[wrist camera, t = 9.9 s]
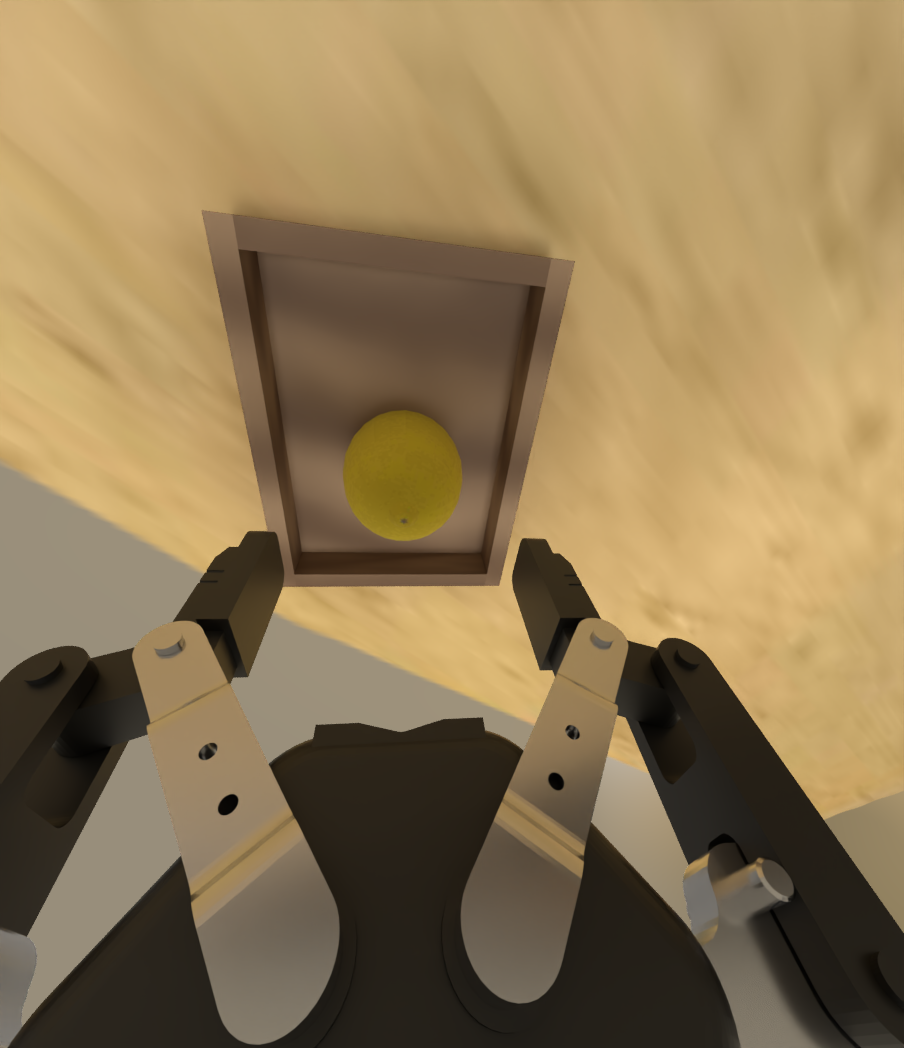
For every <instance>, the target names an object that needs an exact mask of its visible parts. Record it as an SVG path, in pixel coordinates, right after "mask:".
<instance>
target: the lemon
mask: <svg viewBox="0 0 904 1048" xmlns="http://www.w3.org/2000/svg"><path fill="white" fill-rule="evenodd" d="M343 481H344V489H345V494H346V498H347V500H348V503H349V505H350V507H351V509H352V511H353V513H354V515H355V516H356V517H357V518H358V519H359V521H360V522H361V523H362V524H363V525H364V526H365V527H367V528H368V529H369V530H371V531H372V532H373V533H375V534H377V535H379V536H382V537H384V538H387V539H392V540H396V541H410V540H416V539H420V538H423V537H425V536H428V535H430V534H432V533H433V532H434V531H436V530H437V529H439V528H440V527H442V526H443V525H444V523H445V522H446V521H447V520H448V519H449V518H450V516H451V515H452V513H453V511H454V509H455V507H456V505H457V503H458V500H459V496H460V491H461V486H462V466H461V459H460V456H459V454H458V451H457V449H456V446H455V443H454V442H453V440H452V439H451V437H450V436H449V435H448V433H447V432H446V431H445V429H444V428H443V427H441V426H440V425H439V424H438V423H437V422H435V421H434V420H433V419H431V418H429V417H427V416H425V415H423V414H420V413H418V412H412V411H407V410H399V411H390V412H387V413H384V414H380V415H378V416H376V417H374V418H373V419H371V420H370V421H368V422H367V423H365V424H364V425H363V426H362V428H361V429H360V430H359V431H358V432H357V433H356V434H355V435H354V437H353V439H352V441H351V443H350V445H349V447H348V449H347V451H346V454H345V460H344V467H343Z"/></svg>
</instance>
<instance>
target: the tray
mask: <svg viewBox="0 0 904 1048" xmlns="http://www.w3.org/2000/svg"><path fill="white" fill-rule="evenodd" d="M202 215H203V219H204V224H205V229H206V234H207V239H208V244H209V248H210V253H211V258H212V263H213V268H214V273H215V278H216V282H217V287H218V292H219V297H220V302H221V307H222V311H223V316H224V321H225V326H226V331H227V336H228V341H229V345H230V350H231V355H232V360H233V365H234V370H235V374H236V379H237V384H238V389H239V394H240V399H241V404H242V408H243V413H244V418H245V423H246V428H247V433H248V437H249V442H250V447H251V452H252V457H253V462H254V467H255V471H256V476H257V481H258V486H259V491H260V496H261V500H262V505H263V510H264V515H265V520H266V525H267V529H268V532H276V534H277V536H278V541H279V546H280V551H281V556H282V561H283V566H284V583H283V587H328V586H499V584H500V579H501V575H502V571H503V567H504V562H505V558H506V554H507V550H508V545H509V541H510V537H511V532H512V528H513V524H514V520H515V515H516V511H517V507H518V502H519V498H520V494H521V490H522V485H523V481H524V477H525V472H526V468H527V464H528V460H529V455H530V451H531V447H532V442H533V438H534V434H535V430H536V425H537V421H538V417H539V412H540V408H541V404H542V400H543V395H544V391H545V387H546V382H547V378H548V374H549V370H550V365H551V361H552V357H553V352H554V348H555V344H556V340H557V335H558V331H559V327H560V322H561V318H562V314H563V310H564V305H565V301H566V297H567V292H568V288H569V284H570V280H571V275H572V271H573V267H574V263H575V261H569V260H561V259H554V258H547V257H539V256H532V255H525V254H517V253H510V252H503V251H496V250H488V249H481V248H474V247H466V246H459V245H452V244H444V243H437V242H430V241H422V240H415V239H408V238H401V237H393V236H386V235H379V234H371V233H364V232H357V231H349V230H342V229H335V228H327V227H320V226H313V225H306V224H298V223H291V222H284V221H276V220H269V219H262V218H254V217H247V216H240V215H232V214H225V213H218V212H210V211H203V210H202ZM399 410H407V411H412V412H418V413H420V414H423V415H425V416H427V417H429V418H431V419H433V420H434V421H435V422H437V423H438V424H439V425H440V426H441V427H443V428H444V429H445V431H446V432H447V433H448V435H449V436H450V437H451V439H452V440H453V442H454V443H455V446H456V449H457V451H458V454H459V456H460V459H461V466H462V486H461V491H460V496H459V500H458V503H457V505H456V507H455V509H454V511H453V513H452V515H451V516H450V518H449V519H448V520H447V521H446V522H445V523H444V525H443V526H442V527H440V528H439V529H437V530H436V531H434V532H433V533H432V534H430V535H428V536H425V537H423V538H420V539H416V540H410V541H396V540H392V539H387V538H384V537H382V536H379V535H377V534H375V533H373V532H372V531H371V530H369V529H368V528H367V527H365V526H364V525H363V524H362V523H361V522H360V521H359V519H358V518H357V517H356V516H355V515H354V513H353V511H352V509H351V507H350V505H349V503H348V500H347V498H346V494H345V489H344V481H343V467H344V460H345V454H346V451H347V449H348V447H349V445H350V443H351V441H352V439H353V437H354V435H355V434H356V433H357V432H358V431H359V430H360V429H361V428H362V426H363V425H364V424H365V423H367V422H368V421H370V420H371V419H373V418H374V417H376V416H378V415H380V414H384V413H387V412H390V411H399Z"/></svg>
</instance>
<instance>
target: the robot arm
mask: <svg viewBox="0 0 904 1048" xmlns="http://www.w3.org/2000/svg"><path fill="white" fill-rule="evenodd" d="M283 583H284V566H283V561H282V556H281V551H280V546H279V541H278V536H277V534H276V532H266V531H249V532H247V534H246V535H245V537H244V538H243V540H242V542H241V543H240V545H239V547H229V548H227V549H226V550H225V551H223V552H222V553H221V554H219V555H218V556H216V557H215V558H214V560H213V561H212V563H211V564H210V566H209V568H208V569H207V573H205V574H204V575H203V577H202V578H201V580H200V583H198V584H197V586H196V587H195V589H194V590H193V592H192V593H191V595H190V596H189V598H188V599H187V601H186V603H185V604H184V606H183V607H182V609H181V610H180V612H179V613H178V615H177V616H176V618H175V619H174V621H173V622H171V623H168V624H165V625H162V626H160V627H158V628H156V629H154V630H152V631H151V632H149V633H148V634H146V635H145V636H144V637H143V638H142V639H141V640H140V641H139V642H138V643H137V645H136V646H135V647H134V648H131V649H127V650H123V651H120V652H115V653H111V654H107V655H103V656H99V657H95V658H90V657H89V655H88V654H87V652H86V651H85V650H84V649H82V648H80V647H76V646H63V647H57V648H53V649H49V650H46V651H43V652H41V653H38V654H36V655H34V656H32V657H30V658H28V659H27V660H25V661H23V662H22V663H20V664H19V665H17V666H16V667H15V668H14V669H12V670H11V671H10V672H9V673H8V674H7V675H6V676H5V677H4V678H3V680H1V682H0V1048H904V933H903V932H902V930H901V929H900V928H899V926H898V925H897V923H896V922H895V920H894V919H893V917H892V916H891V915H890V913H889V912H888V910H887V909H886V908H885V906H884V905H883V903H882V902H881V901H880V899H879V898H878V896H877V895H876V893H875V892H874V891H873V889H872V888H871V886H870V885H869V883H868V882H867V881H866V879H865V878H864V876H863V875H862V874H861V872H860V871H859V869H858V868H857V866H856V865H855V864H854V862H853V861H852V859H851V858H850V857H849V855H848V854H847V852H846V851H845V849H844V848H843V847H842V845H841V844H840V842H839V841H838V840H837V838H836V837H835V835H834V834H833V832H832V831H831V830H830V828H829V827H828V825H827V824H826V823H825V821H824V820H823V818H822V817H821V815H820V814H819V813H818V811H817V810H816V808H815V807H814V806H813V804H812V803H811V801H810V800H809V798H808V797H807V796H806V794H805V793H804V791H803V790H802V789H801V787H800V786H799V784H798V783H797V781H796V780H795V779H794V777H793V776H792V774H791V773H790V772H789V770H788V769H787V767H786V766H785V764H784V763H783V762H782V760H781V759H780V757H779V756H778V755H777V753H776V752H775V750H774V749H773V747H772V746H771V745H770V743H769V742H768V740H767V739H766V738H765V736H764V735H763V733H762V732H761V730H760V729H759V728H758V726H757V725H756V723H755V722H754V721H753V719H752V718H751V716H750V715H749V714H748V712H747V711H746V709H745V708H744V706H743V705H742V704H741V702H740V701H739V699H738V698H737V697H736V695H735V694H734V692H733V691H732V689H731V688H730V687H729V685H728V684H727V682H726V681H725V680H724V678H723V677H722V675H721V674H720V672H719V671H718V670H717V668H716V667H715V665H714V664H713V663H712V661H711V660H710V658H709V657H708V656H707V655H706V654H705V653H704V652H703V651H702V650H701V649H699V648H698V647H696V646H695V645H693V644H691V643H689V642H687V641H685V640H682V639H678V638H667V639H664V640H663V641H661V643H660V644H659V646H658V647H657V648H654V647H650V646H646V645H642V644H638V643H635V642H631V641H628V640H627V639H626V637H625V635H624V634H623V633H622V632H621V631H620V630H619V629H618V628H617V627H616V626H614V625H613V624H611V623H609V622H608V621H605V620H602V619H601V618H600V616H599V614H598V612H597V611H596V609H595V607H594V605H593V603H592V601H591V600H590V598H589V596H588V594H587V592H586V591H585V589H584V587H583V586H582V583H581V581H580V580H579V578H578V577H577V574H576V572H575V571H574V569H573V567H572V565H571V563H569V562H568V561H567V560H566V559H565V558H564V557H563V556H562V555H561V554H554V553H553V552H552V550H551V548H550V547H549V545H548V543H547V541H546V540H545V539H530V538H523V539H522V540H521V543H520V546H519V550H518V554H517V558H516V562H515V566H514V570H513V575H512V584H513V590H514V593H515V596H516V599H517V602H518V605H519V608H520V611H521V614H522V617H523V620H524V623H525V626H526V629H527V632H528V635H529V638H530V641H531V644H532V647H533V650H534V653H535V657H536V660H537V663H538V666H539V669H540V670H553V673H554V675H555V679H554V682H553V684H552V686H551V689H550V691H549V693H548V696H547V698H546V700H545V703H544V705H543V707H542V709H541V712H540V714H539V716H538V719H537V721H536V723H535V726H534V728H533V731H532V733H531V735H530V738H529V740H528V742H527V744H526V747H525V749H524V751H523V750H522V749H521V748H520V747H519V746H517V745H516V744H514V743H513V742H511V741H510V740H508V739H506V738H504V737H502V736H500V735H498V734H495V733H492V732H489V731H485V728H484V722H483V718H462V719H443V720H440V721H437V722H434V723H431V724H427V725H424V726H421V727H418V728H415V729H412V730H409V731H405V732H397V731H392V730H388V729H383V728H379V727H374V726H370V725H365V724H361V723H349V724H327V725H316V727H315V733H314V737H313V739H311V740H308V741H305V742H303V743H301V744H298V745H296V746H294V747H292V748H291V749H289V750H287V751H285V752H284V753H282V754H281V755H280V756H278V757H277V758H275V759H274V760H273V761H272V762H270V763H269V764H268V762H267V760H266V758H265V756H264V754H263V751H262V749H261V747H260V745H259V743H258V741H257V739H256V737H255V735H254V733H253V731H252V729H251V726H250V724H249V722H248V720H247V718H246V716H245V714H244V712H243V710H242V708H241V706H240V704H239V701H238V699H237V697H236V695H235V693H234V691H233V689H232V687H231V685H230V683H231V681H232V679H233V678H234V677H248V676H249V673H250V670H251V668H252V665H253V663H254V660H255V658H256V655H257V652H258V650H259V647H260V645H261V642H262V639H263V637H264V634H265V632H266V629H267V626H268V623H269V621H270V619H271V616H272V613H273V611H274V608H275V606H276V603H277V601H278V598H279V595H280V593H281V590H282V587H283ZM617 715H619V716H622V717H626V719H627V721H628V724H629V726H630V729H631V731H632V733H633V736H634V738H635V740H636V743H637V745H638V747H639V750H640V752H641V754H642V757H643V759H644V761H645V764H646V766H647V768H648V771H649V773H650V775H651V778H652V780H653V782H654V785H655V787H656V789H657V792H658V794H659V796H660V799H661V801H662V804H663V806H664V808H665V811H666V813H667V815H668V818H669V820H670V822H671V824H672V827H673V829H674V832H675V834H676V836H677V839H678V841H679V843H680V846H681V848H682V850H683V853H684V855H685V858H686V860H687V862H688V867H687V868H686V870H685V873H684V876H683V890H684V896H685V899H686V902H687V912H688V916H689V918H690V920H691V930H690V929H689V928H688V926H687V925H686V924H685V923H684V921H683V920H682V919H681V918H680V917H679V916H678V915H677V913H676V912H675V911H674V910H673V909H672V908H671V907H670V906H669V905H668V904H667V903H666V902H665V901H664V900H663V898H662V897H661V896H660V895H659V894H658V893H657V892H656V891H655V890H654V889H653V888H652V887H651V886H650V885H649V883H648V882H646V880H645V879H644V878H643V877H642V876H641V875H640V874H639V873H638V872H637V871H636V870H635V869H634V867H633V866H632V865H631V864H630V863H629V862H628V861H627V860H626V859H625V858H624V857H623V856H622V855H621V854H620V853H619V852H618V850H617V849H616V848H615V847H614V846H613V845H612V844H611V843H610V842H609V841H608V840H607V839H606V838H605V836H604V835H603V834H602V833H601V832H600V831H599V830H598V829H597V828H596V827H595V826H594V825H593V824H592V823H591V820H592V816H593V812H594V808H595V803H596V799H597V795H598V791H599V787H600V783H601V779H602V775H603V770H604V766H605V762H606V758H607V754H608V750H609V746H610V741H611V737H612V733H613V729H614V725H615V721H616V717H617ZM147 734H148V737H149V741H150V744H151V748H152V751H153V755H154V759H155V763H156V766H157V770H158V773H159V777H160V781H161V784H162V788H163V792H164V795H165V799H166V803H167V806H168V810H169V814H170V817H171V821H172V824H173V828H174V832H175V835H176V839H177V843H178V846H179V850H180V854H181V856H180V857H179V858H178V859H177V860H176V861H175V863H174V864H173V865H172V866H171V867H170V868H169V869H168V870H167V871H166V872H165V873H164V874H163V875H162V876H161V877H160V879H159V880H158V881H157V882H156V883H155V884H154V885H153V886H152V887H151V888H150V889H149V890H148V891H147V892H146V893H145V894H144V895H143V896H142V897H141V899H140V900H139V901H138V902H137V903H136V904H135V905H134V906H133V907H132V908H131V909H130V910H129V911H128V912H127V913H126V914H125V915H124V917H123V918H122V919H121V920H120V921H119V922H118V923H117V924H116V925H115V926H114V927H113V928H112V929H111V930H110V931H109V932H108V933H107V935H106V936H105V937H104V938H103V939H102V940H101V941H100V942H99V943H98V944H97V945H96V946H95V947H94V948H93V949H92V950H91V951H90V953H89V954H88V955H87V956H86V957H85V958H84V959H83V960H82V961H81V962H80V963H79V964H78V965H77V966H76V967H75V968H74V969H73V971H72V972H71V973H70V974H69V975H68V976H67V977H66V978H65V979H64V980H63V981H62V982H61V983H60V984H59V985H58V986H57V987H56V989H55V990H54V991H53V992H52V993H51V994H50V995H49V996H48V997H47V999H45V1000H44V1001H43V1003H42V1004H41V1005H40V1006H39V1007H38V1008H37V1009H36V1011H35V1012H34V1013H33V1014H32V1015H31V1017H30V1018H29V1019H28V1021H27V1022H26V1023H25V1024H24V1025H23V1027H22V1022H21V1018H22V1009H23V1005H24V1002H25V1000H26V997H27V993H28V989H29V986H30V984H31V981H32V978H33V976H34V972H35V968H36V962H37V953H36V947H35V945H34V943H33V942H32V941H31V939H30V938H28V937H27V935H28V933H29V931H30V929H31V928H32V925H33V924H34V922H35V920H36V918H37V916H38V914H39V912H40V910H41V908H42V906H43V904H44V903H45V901H46V899H47V897H48V895H49V893H50V891H51V889H52V887H53V885H54V883H55V881H56V880H57V877H58V876H59V874H60V872H61V870H62V868H63V866H64V864H65V862H66V860H67V858H68V857H69V854H70V853H71V851H72V849H73V847H74V845H75V843H76V841H77V839H78V837H79V835H80V834H81V832H82V830H83V828H84V826H85V824H86V822H87V820H88V818H89V816H90V814H91V812H92V810H93V808H94V807H95V805H96V803H97V801H98V799H99V797H100V795H101V793H102V791H103V789H104V787H105V786H106V784H107V782H108V780H109V778H110V776H111V774H112V772H113V770H114V768H115V766H116V764H117V763H118V760H119V759H120V757H121V755H122V753H123V751H124V749H125V747H126V745H127V743H128V741H129V740H132V739H135V738H138V737H141V736H144V735H147Z"/></svg>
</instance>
